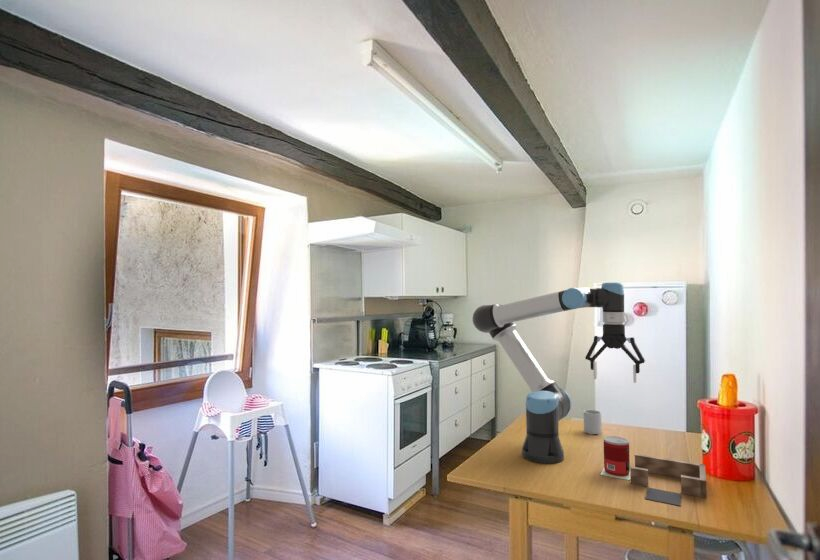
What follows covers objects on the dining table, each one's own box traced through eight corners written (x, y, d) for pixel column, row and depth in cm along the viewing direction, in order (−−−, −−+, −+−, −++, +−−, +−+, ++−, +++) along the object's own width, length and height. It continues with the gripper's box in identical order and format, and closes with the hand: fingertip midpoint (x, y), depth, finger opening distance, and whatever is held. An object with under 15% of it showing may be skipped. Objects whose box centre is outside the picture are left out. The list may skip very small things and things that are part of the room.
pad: (600, 474, 153) (600, 474, 153) (605, 465, 162) (605, 464, 162) (629, 480, 149) (629, 479, 149) (633, 470, 157) (633, 469, 157)
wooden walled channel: (630, 483, 146) (630, 467, 146) (635, 468, 159) (635, 453, 159) (706, 498, 136) (706, 481, 136) (705, 480, 148) (704, 464, 148)
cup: (581, 432, 200) (580, 412, 201) (591, 427, 207) (591, 407, 207) (597, 436, 195) (596, 415, 195) (607, 431, 202) (606, 410, 202)
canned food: (632, 477, 151) (631, 443, 151) (606, 475, 152) (606, 442, 153) (626, 468, 158) (625, 436, 159) (602, 467, 160) (601, 435, 160)
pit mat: (645, 499, 135) (645, 498, 135) (647, 487, 143) (647, 487, 143) (680, 506, 130) (680, 505, 130) (681, 494, 138) (681, 493, 138)
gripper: (576, 323, 174) (577, 378, 173) (650, 324, 160) (651, 385, 160) (580, 321, 180) (581, 375, 179) (651, 323, 167) (653, 381, 166)
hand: (614, 380), depth 170 cm, fingers open, 13 cm apart
